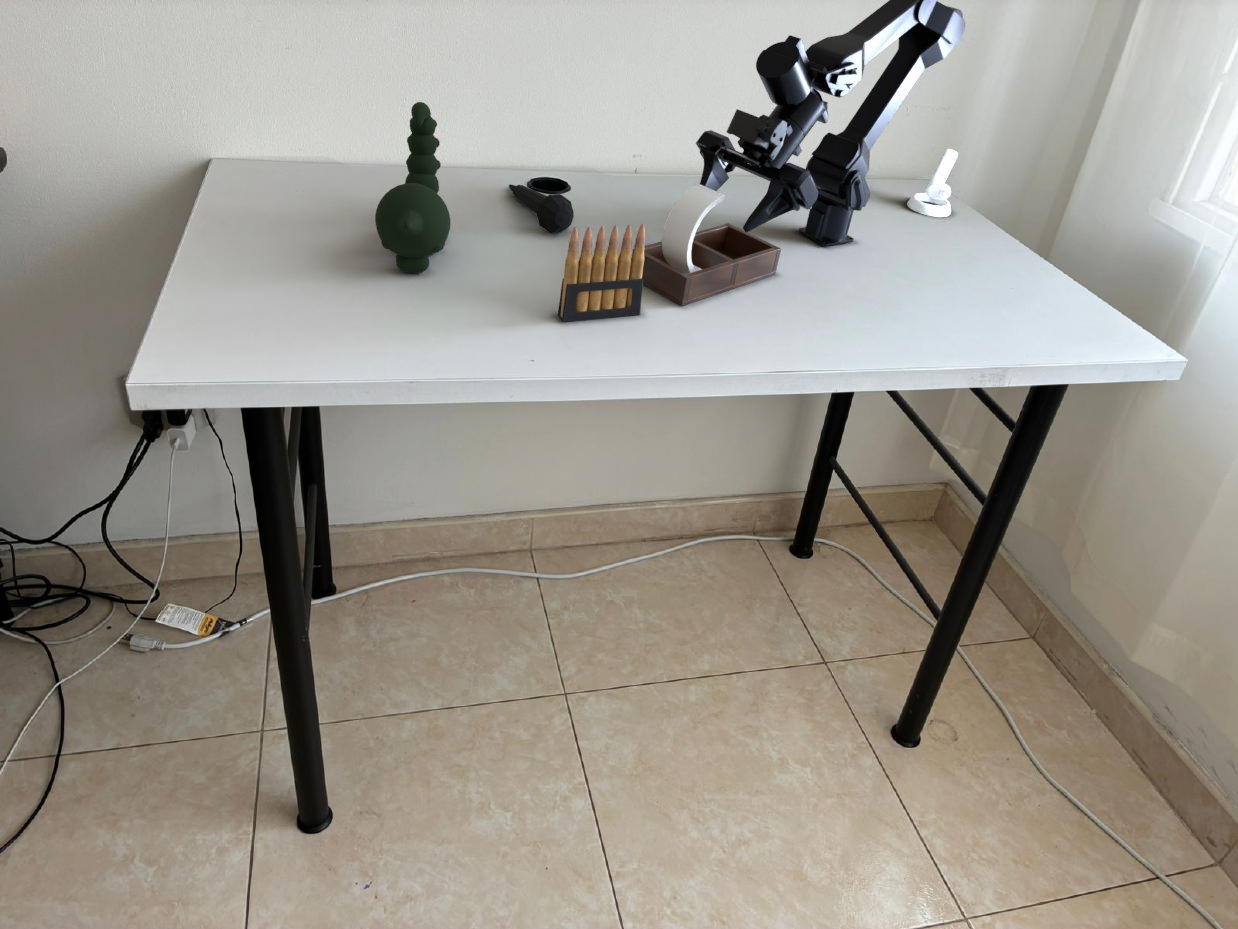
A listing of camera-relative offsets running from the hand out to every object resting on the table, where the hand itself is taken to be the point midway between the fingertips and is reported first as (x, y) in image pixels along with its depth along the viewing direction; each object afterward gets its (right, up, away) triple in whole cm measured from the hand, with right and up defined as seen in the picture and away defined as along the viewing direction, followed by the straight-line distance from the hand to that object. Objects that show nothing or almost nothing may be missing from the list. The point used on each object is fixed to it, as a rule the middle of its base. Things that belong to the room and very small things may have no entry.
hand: (719, 218), depth 129 cm
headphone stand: (-5, -8, +1) cm, 10 cm away
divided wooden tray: (-2, -7, +4) cm, 8 cm away
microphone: (-26, +5, +16) cm, 31 cm away
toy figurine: (-42, -5, 0) cm, 42 cm away
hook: (+41, +12, +38) cm, 58 cm away
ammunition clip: (-16, -15, -9) cm, 24 cm away
